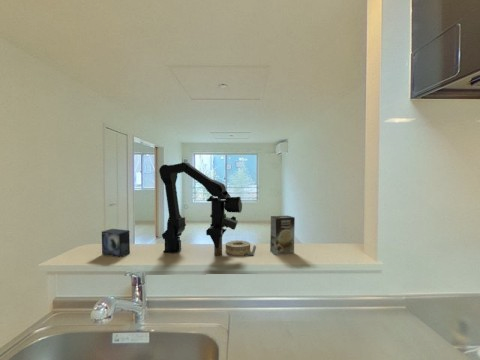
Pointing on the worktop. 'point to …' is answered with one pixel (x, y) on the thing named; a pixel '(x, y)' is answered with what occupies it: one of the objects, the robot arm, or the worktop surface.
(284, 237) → the coffee box
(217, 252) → the brown cylinder
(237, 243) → the bead
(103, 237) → the small box
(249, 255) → the gray l-shaped bar
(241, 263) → the worktop surface
